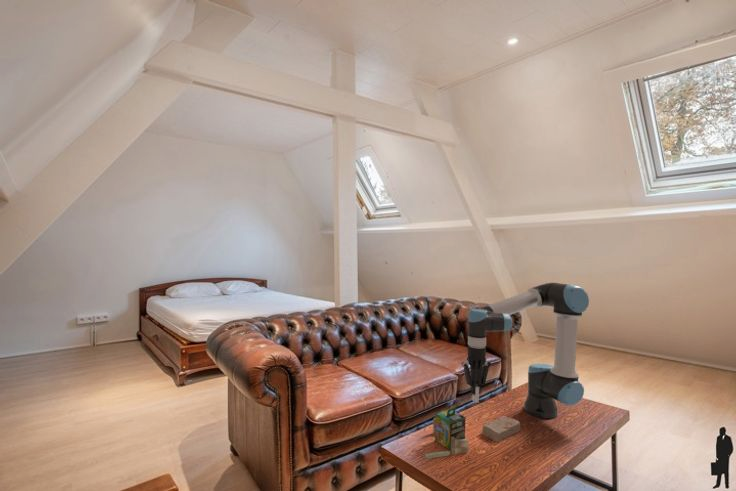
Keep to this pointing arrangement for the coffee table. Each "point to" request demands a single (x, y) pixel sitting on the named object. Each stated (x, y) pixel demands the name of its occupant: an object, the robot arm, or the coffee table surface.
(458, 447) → the chute
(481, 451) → the coffee table surface
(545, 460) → the coffee table surface
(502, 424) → the brick
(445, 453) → the kerb
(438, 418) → the chalk box
